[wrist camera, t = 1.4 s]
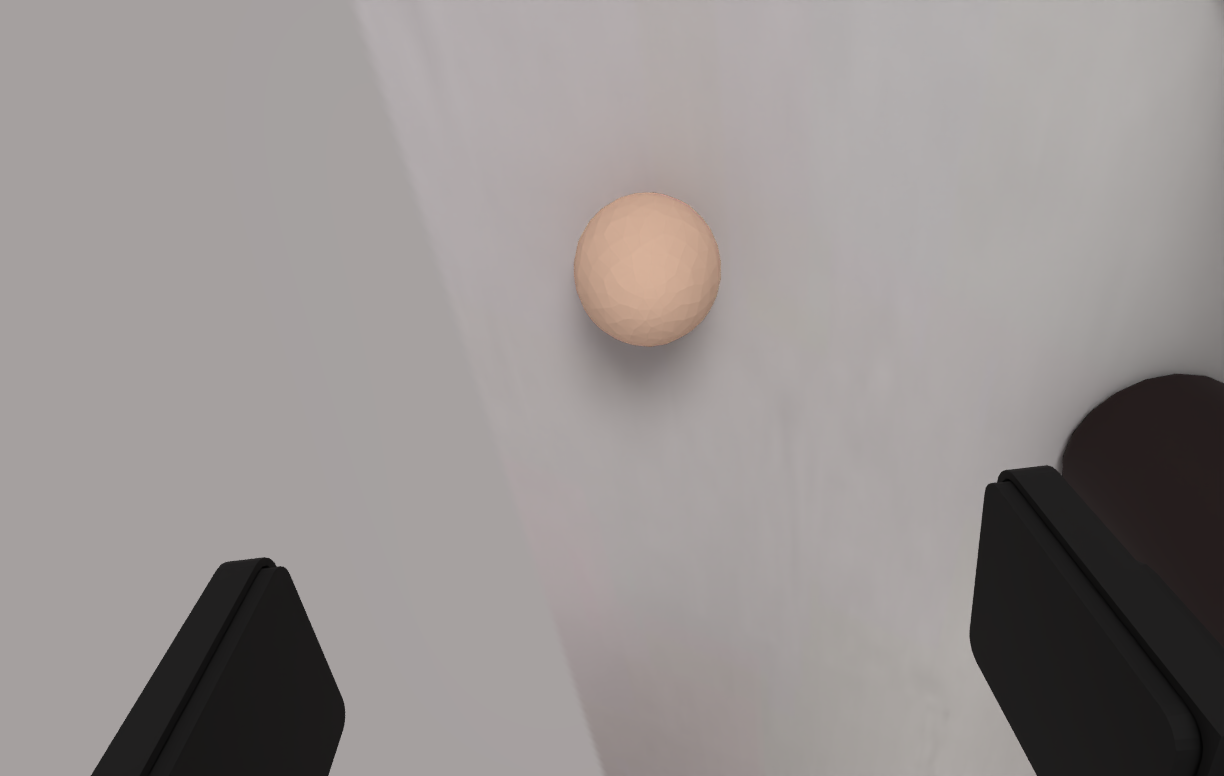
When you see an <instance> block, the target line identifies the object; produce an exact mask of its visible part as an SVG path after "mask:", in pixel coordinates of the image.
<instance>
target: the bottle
mask: <svg viewBox="0 0 1224 776" xmlns="http://www.w3.org/2000/svg"><path fill="white" fill-rule="evenodd" d="M1062 477H1063V478H1064V479H1065V480H1066V481H1067V482H1068V484H1069V485H1070V486H1071V487H1072V488H1073V489H1074V490H1075V492H1076V493H1077V494H1078V495H1079V496H1080V497H1081V498H1082V499H1083V501H1084V502H1085V503H1086V504H1087V505H1088V506H1089V507H1090V509H1091V510H1092V511H1093V512H1094V513H1095V514H1096V515H1097V516H1098V518H1099V519H1100V520H1101V521H1102V522H1103V523H1104V524H1105V525H1106V527H1107V528H1108V529H1109V530H1110V531H1111V532H1112V533H1113V535H1114V536H1115V537H1116V538H1117V539H1118V540H1119V541H1120V542H1121V544H1122V545H1123V546H1124V547H1125V548H1126V549H1127V550H1128V552H1129V553H1130V554H1131V555H1132V556H1133V557H1134V558H1135V559H1136V560H1137V561H1140V562H1142V563H1145V564H1147V565H1148V566H1149V567H1150V568H1151V569H1152V570H1154V571H1155V572H1156V573H1157V574H1158V575H1159V576H1160V577H1161V578H1162V580H1163V581H1164V582H1165V583H1166V584H1167V585H1168V586H1169V587H1170V589H1171V590H1172V591H1173V592H1174V593H1175V594H1176V595H1177V596H1178V597H1179V599H1180V600H1181V601H1182V602H1183V603H1184V604H1185V605H1186V606H1187V607H1188V609H1189V610H1190V611H1191V612H1192V613H1193V614H1194V615H1195V616H1196V617H1197V619H1198V620H1199V621H1200V622H1201V623H1202V624H1203V625H1204V626H1205V628H1206V629H1207V630H1208V631H1209V632H1210V633H1211V634H1212V635H1213V636H1214V638H1215V639H1216V640H1217V641H1218V642H1219V643H1220V644H1221V645H1222V646H1223V648H1224V383H1221V382H1219V381H1217V380H1214V379H1212V378H1210V377H1206V376H1199V375H1185V374H1173V375H1167V376H1162V377H1157V378H1152V379H1147V380H1144V381H1142V382H1139V383H1137V384H1135V385H1133V386H1130V387H1128V388H1126V389H1124V390H1121V391H1119V392H1117V393H1115V394H1114V395H1113V396H1111V397H1110V398H1109V399H1107V400H1106V401H1104V402H1103V403H1102V404H1100V405H1099V406H1098V407H1096V408H1095V409H1094V410H1092V411H1091V412H1090V413H1089V415H1088V416H1087V417H1086V418H1085V420H1084V421H1083V422H1082V423H1081V424H1080V426H1079V427H1078V428H1077V429H1076V430H1075V432H1074V433H1073V435H1072V437H1071V439H1070V442H1069V444H1068V446H1067V449H1066V451H1065V453H1064V456H1063V474H1062Z"/></svg>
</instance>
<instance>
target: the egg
mask: <svg viewBox="0 0 1224 776" xmlns="http://www.w3.org/2000/svg"><path fill="white" fill-rule="evenodd" d="M574 279H575V284H576V290H577V293H578V295H579V298H580V300H581V303H582V305H583V307H584V310H585V311H586V313H587V314H588V315H589V317H590V318H591V320H592V321H593V322H594V323H595V324H596V325H597V326H598V327H599V328H600V329H601V330H603V331H604V332H606V333H607V334H609V335H610V336H612V337H613V338H615V339H618V340H620V341H622V342H625V343H629V344H632V345H635V346H649V347H652V346H658V345H664V344H668V343H670V342H672V341H674V340H676V339H678V338H680V337H682V336H684V335H686V334H688V333H689V332H691V331H692V330H693V329H694V328H695V327H696V326H697V325H698V324H699V323H700V322H701V321H702V320H704V318H705V317H706V315H707V314H708V312H709V310H710V309H711V307H712V305H713V303H714V301H715V299H716V296H717V292H718V288H719V284H720V280H721V260H720V255H719V250H718V245H717V243H716V241H715V238H714V236H713V234H712V232H711V229H710V228H709V226H708V225H707V224H706V222H705V221H704V219H703V218H702V217H701V216H700V215H699V214H698V213H697V212H696V211H694V210H693V209H692V208H691V207H690V206H689V205H687V204H686V203H684V202H682V201H680V200H678V199H675V198H672V197H670V196H667V195H664V194H659V193H635V194H631V195H628V196H624V197H622V198H619V199H617V200H615V201H613V202H612V203H610V204H609V205H607V206H606V207H604V208H602V209H601V210H600V211H599V212H598V213H597V214H596V215H595V216H594V217H593V218H592V219H591V220H590V221H589V223H588V225H587V227H586V228H585V230H584V232H583V234H582V235H581V237H580V239H579V241H578V246H577V250H576V255H575V260H574Z"/></svg>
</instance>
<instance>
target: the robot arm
mask: <svg viewBox="0 0 1224 776" xmlns="http://www.w3.org/2000/svg"><path fill="white" fill-rule="evenodd" d="M970 643H971V648H972V652H973V655H974V657H975V660H976V662H977V664H978V666H979V668H980V670H981V671H982V673H983V675H984V677H985V679H986V681H987V683H988V685H989V686H990V688H991V690H992V692H993V694H994V696H995V698H996V700H997V701H998V703H999V705H1000V707H1001V709H1002V711H1003V713H1004V715H1005V716H1006V718H1007V720H1008V722H1009V724H1010V726H1011V728H1012V730H1013V731H1014V733H1015V735H1016V737H1017V739H1018V741H1019V743H1020V745H1021V746H1022V748H1023V750H1024V752H1025V754H1026V756H1027V758H1028V760H1029V761H1030V763H1031V765H1032V767H1033V769H1034V771H1035V773H1036V775H1037V776H1224V648H1223V646H1222V645H1221V644H1220V643H1219V642H1218V641H1217V640H1216V639H1215V638H1214V636H1213V635H1212V634H1211V633H1210V632H1209V631H1208V630H1207V629H1206V628H1205V626H1204V625H1203V624H1202V623H1201V622H1200V621H1199V620H1198V619H1197V617H1196V616H1195V615H1194V614H1193V613H1192V612H1191V611H1190V610H1189V609H1188V607H1187V606H1186V605H1185V604H1184V603H1183V602H1182V601H1181V600H1180V599H1179V597H1178V596H1177V595H1176V594H1175V593H1174V592H1173V591H1172V590H1171V589H1170V587H1169V586H1168V585H1167V584H1166V583H1165V582H1164V581H1163V580H1162V578H1161V577H1160V576H1159V575H1158V574H1157V573H1156V572H1155V571H1154V570H1152V569H1151V568H1150V567H1149V566H1148V565H1147V564H1145V563H1142V562H1140V561H1137V560H1136V559H1135V558H1134V557H1133V556H1132V555H1131V554H1130V553H1129V552H1128V550H1127V549H1126V548H1125V547H1124V546H1123V545H1122V544H1121V542H1120V541H1119V540H1118V539H1117V538H1116V537H1115V536H1114V535H1113V533H1112V532H1111V531H1110V530H1109V529H1108V528H1107V527H1106V525H1105V524H1104V523H1103V522H1102V521H1101V520H1100V519H1099V518H1098V516H1097V515H1096V514H1095V513H1094V512H1093V511H1092V510H1091V509H1090V507H1089V506H1088V505H1087V504H1086V503H1085V502H1084V501H1083V499H1082V498H1081V497H1080V496H1079V495H1078V494H1077V493H1076V492H1075V490H1074V489H1073V488H1072V487H1071V486H1070V485H1069V484H1068V482H1067V481H1066V480H1065V479H1064V478H1063V477H1062V476H1061V475H1060V473H1059V472H1058V471H1057V470H1056V469H1054V468H1053V467H1051V466H1048V465H1046V466H1037V467H1029V468H1020V469H1012V470H1005V471H1003V472H1001V473H1000V475H999V477H998V481H997V483H990V484H988V485H987V487H986V490H985V495H984V504H983V513H982V523H981V532H980V541H979V550H978V559H977V568H976V578H975V587H974V596H973V605H972V614H971V623H970ZM344 722H345V706H344V702H343V699H342V696H341V694H340V691H339V689H338V687H337V684H336V682H335V680H334V677H333V675H332V673H331V670H330V668H329V666H328V663H327V661H326V658H325V656H324V654H323V651H322V649H321V647H320V644H319V642H318V640H317V637H316V635H315V633H314V630H313V628H312V626H311V623H310V621H309V619H308V616H307V614H306V611H305V609H304V607H303V604H302V602H301V600H300V597H299V595H298V593H297V590H296V588H295V586H294V583H293V581H292V579H291V576H290V574H289V572H288V570H287V569H286V568H284V567H281V566H280V567H277V566H276V565H275V563H274V562H273V561H272V560H271V559H270V558H265V557H264V558H256V559H248V560H239V561H230V562H225V563H223V564H221V565H220V567H219V568H218V569H217V571H216V572H215V574H214V575H213V577H212V578H211V580H210V582H209V583H208V585H207V587H206V588H205V590H204V592H203V593H202V595H201V596H200V598H199V600H198V601H197V603H196V605H195V606H194V608H193V610H192V611H191V613H190V615H189V616H188V618H187V619H186V621H185V623H184V624H183V626H182V627H181V629H180V631H179V632H178V634H177V636H176V637H175V639H174V641H173V642H172V644H171V646H170V647H169V649H168V650H167V652H166V654H165V655H164V657H163V659H162V660H161V662H160V664H159V665H158V667H157V669H156V670H155V672H154V673H153V675H152V677H151V678H150V680H149V682H148V683H147V685H146V686H145V688H144V690H143V692H142V693H141V695H140V696H139V698H138V700H137V701H136V703H135V704H134V706H133V708H132V709H131V711H130V713H129V714H128V716H127V718H126V719H125V721H124V722H123V724H122V726H121V727H120V729H119V731H118V733H117V734H116V736H115V737H114V739H113V740H112V742H111V744H110V745H109V747H108V749H107V750H106V752H105V754H104V756H103V757H102V759H101V760H100V762H99V764H98V765H97V767H96V768H95V770H94V772H93V773H92V775H91V776H328V775H329V772H330V768H331V765H332V762H333V759H334V756H335V753H336V750H337V747H338V743H339V741H340V738H341V735H342V731H343V728H344Z"/></svg>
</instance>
